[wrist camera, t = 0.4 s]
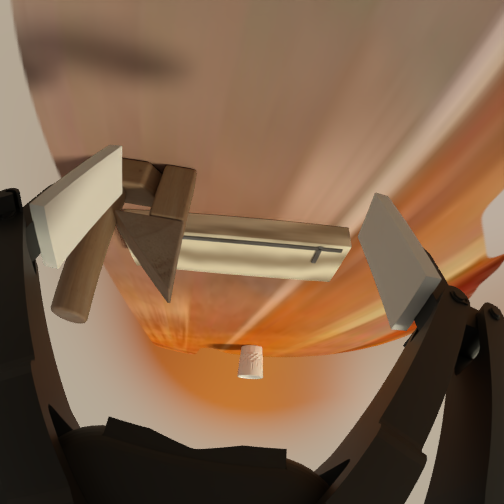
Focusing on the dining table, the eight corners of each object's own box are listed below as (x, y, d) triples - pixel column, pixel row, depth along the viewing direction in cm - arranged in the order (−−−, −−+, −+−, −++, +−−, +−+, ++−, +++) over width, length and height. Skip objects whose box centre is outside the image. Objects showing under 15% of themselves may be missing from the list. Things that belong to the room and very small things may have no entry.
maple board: (124, 209, 38) (118, 228, 36) (348, 228, 39) (351, 248, 37) (141, 248, 46) (136, 266, 45) (328, 264, 47) (329, 282, 46)
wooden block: (194, 190, 35) (163, 343, 25) (109, 176, 33) (56, 318, 23) (197, 168, 32) (162, 333, 22) (106, 154, 30) (42, 304, 20)
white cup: (251, 343, 90) (249, 374, 85) (269, 348, 94) (267, 377, 89) (234, 346, 95) (232, 376, 90) (252, 351, 99) (250, 379, 94)
